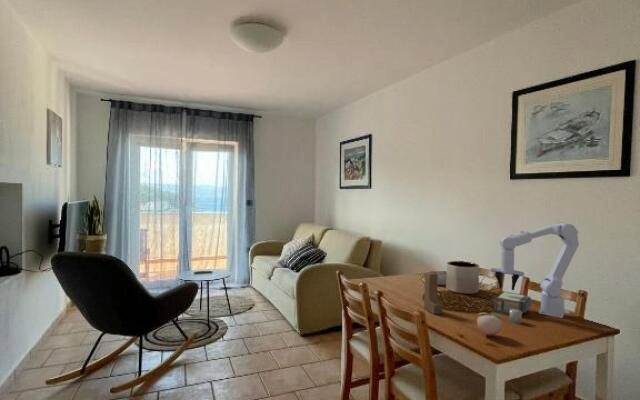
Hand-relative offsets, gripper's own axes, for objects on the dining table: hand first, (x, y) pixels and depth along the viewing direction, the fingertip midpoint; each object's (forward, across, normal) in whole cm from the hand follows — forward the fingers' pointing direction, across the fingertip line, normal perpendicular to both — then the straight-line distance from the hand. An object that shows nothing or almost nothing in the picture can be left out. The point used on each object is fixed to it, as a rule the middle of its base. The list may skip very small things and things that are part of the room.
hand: (506, 288), depth 174 cm
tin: (+11, +43, -23) cm, 50 cm away
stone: (+10, -7, +15) cm, 20 cm away
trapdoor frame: (+10, -2, 0) cm, 11 cm away
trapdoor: (+8, -3, 0) cm, 9 cm away
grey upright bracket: (+11, +26, +27) cm, 39 cm away
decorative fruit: (+11, -3, +40) cm, 41 cm away
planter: (+11, +28, -20) cm, 36 cm away
